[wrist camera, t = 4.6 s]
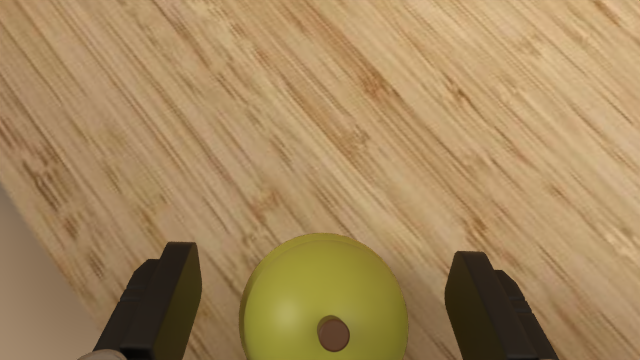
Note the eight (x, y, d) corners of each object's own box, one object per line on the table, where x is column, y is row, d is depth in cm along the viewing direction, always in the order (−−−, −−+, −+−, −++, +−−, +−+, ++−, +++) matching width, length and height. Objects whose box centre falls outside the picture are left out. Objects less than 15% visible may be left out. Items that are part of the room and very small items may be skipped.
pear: (233, 326, 17) (144, 381, 8) (299, 224, 18) (296, 159, 9) (336, 396, 17) (380, 551, 7) (398, 287, 18) (510, 293, 8)
